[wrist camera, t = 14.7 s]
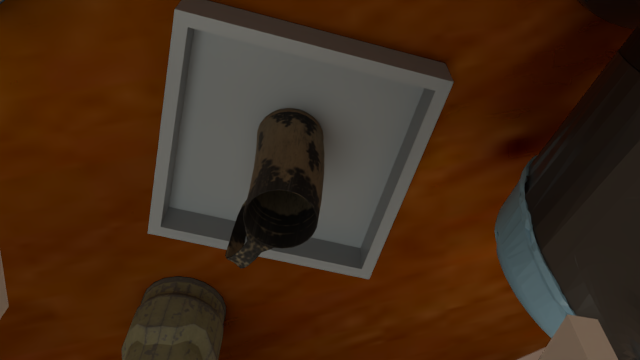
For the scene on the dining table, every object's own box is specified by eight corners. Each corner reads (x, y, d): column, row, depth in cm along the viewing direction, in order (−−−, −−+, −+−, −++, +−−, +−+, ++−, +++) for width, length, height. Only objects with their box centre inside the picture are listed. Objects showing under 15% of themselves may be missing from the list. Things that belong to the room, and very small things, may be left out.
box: (445, 63, 43) (453, 82, 40) (367, 253, 54) (369, 279, 51) (186, -6, 40) (174, 9, 38) (158, 209, 51) (147, 233, 48)
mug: (290, 93, 44) (278, 176, 34) (339, 136, 46) (341, 227, 36) (226, 154, 47) (198, 247, 37) (274, 192, 49) (260, 290, 39)
